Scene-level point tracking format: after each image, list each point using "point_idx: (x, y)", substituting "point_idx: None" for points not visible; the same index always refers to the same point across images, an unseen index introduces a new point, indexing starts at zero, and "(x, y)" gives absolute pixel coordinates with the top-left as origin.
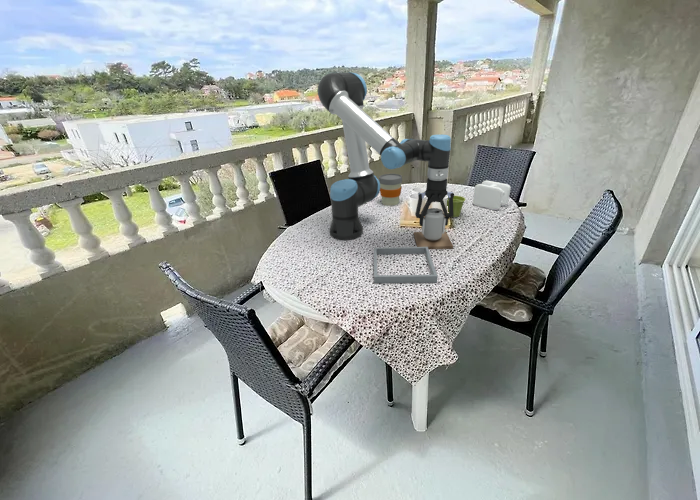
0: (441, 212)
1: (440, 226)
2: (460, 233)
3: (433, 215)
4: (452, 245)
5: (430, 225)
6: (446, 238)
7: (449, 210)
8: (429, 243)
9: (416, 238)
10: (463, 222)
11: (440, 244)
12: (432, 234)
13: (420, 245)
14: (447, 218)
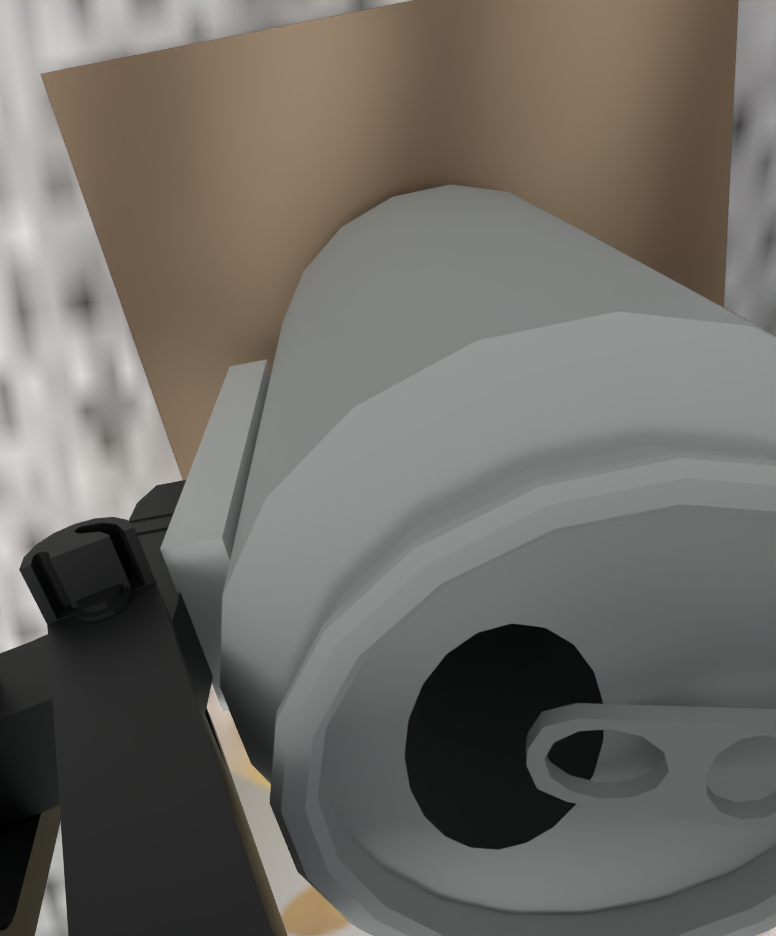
0: (316, 662)
1: (316, 325)
2: (33, 632)
3: (697, 420)
4: (60, 108)
5: (622, 255)
6: (202, 386)
7: (8, 913)
8: (496, 137)
9: None
10: (48, 887)
11: (291, 123)
12: (484, 200)
13: (675, 15)
14: (90, 538)
